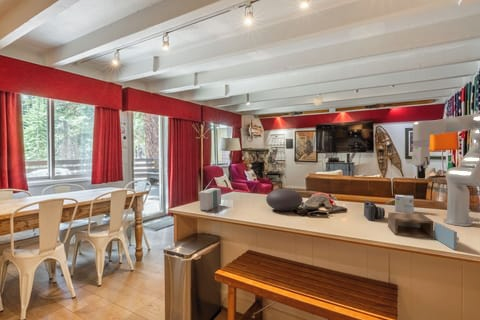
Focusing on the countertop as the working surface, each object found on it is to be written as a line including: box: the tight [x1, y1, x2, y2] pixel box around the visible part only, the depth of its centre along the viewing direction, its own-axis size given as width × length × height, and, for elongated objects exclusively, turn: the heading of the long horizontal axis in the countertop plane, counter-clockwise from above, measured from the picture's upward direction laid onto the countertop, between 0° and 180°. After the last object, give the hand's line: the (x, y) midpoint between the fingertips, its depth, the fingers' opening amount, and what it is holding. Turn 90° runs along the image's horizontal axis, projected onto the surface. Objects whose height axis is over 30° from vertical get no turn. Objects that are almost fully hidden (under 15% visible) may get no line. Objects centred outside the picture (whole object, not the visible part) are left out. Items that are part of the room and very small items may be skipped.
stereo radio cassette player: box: [198, 178, 222, 212], centre depth 192 cm, size 21×8×20 cm, turn 159°
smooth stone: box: [265, 188, 304, 212], centre depth 183 cm, size 25×25×15 cm
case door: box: [433, 221, 460, 251], centre depth 117 cm, size 15×2×7 cm, turn 170°
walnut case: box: [387, 212, 435, 239], centre depth 134 cm, size 16×14×8 cm
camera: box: [363, 199, 386, 222], centre depth 161 cm, size 14×11×10 cm
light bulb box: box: [394, 194, 415, 214], centre depth 177 cm, size 11×7×11 cm, turn 58°
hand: (421, 178), depth 143 cm, fingers closed
